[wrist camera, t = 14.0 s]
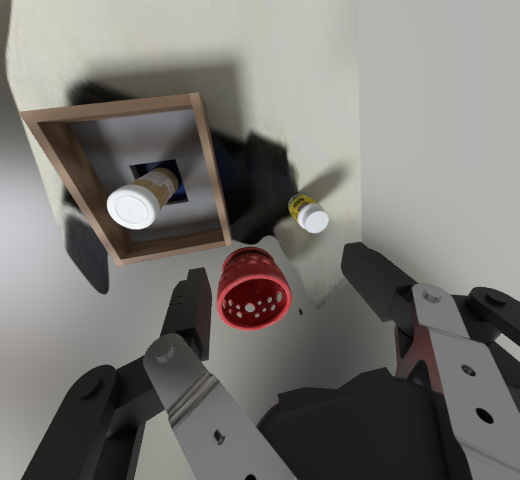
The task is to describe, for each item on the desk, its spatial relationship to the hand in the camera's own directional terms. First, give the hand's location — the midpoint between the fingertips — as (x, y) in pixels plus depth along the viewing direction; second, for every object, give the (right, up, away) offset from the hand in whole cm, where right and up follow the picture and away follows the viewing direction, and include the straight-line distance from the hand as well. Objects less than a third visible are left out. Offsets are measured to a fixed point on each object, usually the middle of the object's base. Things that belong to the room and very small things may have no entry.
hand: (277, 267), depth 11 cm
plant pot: (-4, -4, +32) cm, 32 cm away
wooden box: (-17, +11, +20) cm, 29 cm away
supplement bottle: (+7, +9, +27) cm, 29 cm away
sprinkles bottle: (-17, +11, +20) cm, 29 cm away
